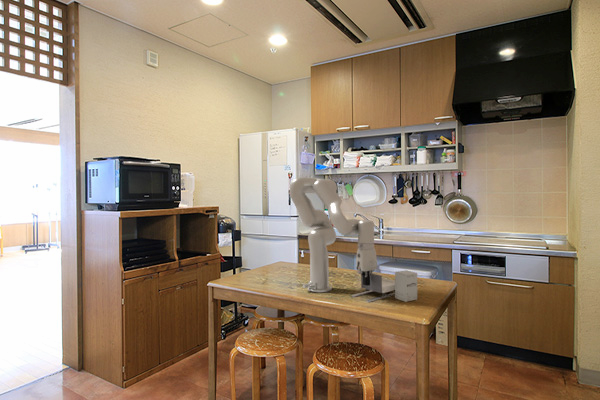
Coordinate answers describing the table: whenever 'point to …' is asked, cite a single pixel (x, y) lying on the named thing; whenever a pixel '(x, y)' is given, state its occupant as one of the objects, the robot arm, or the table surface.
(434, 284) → the table surface
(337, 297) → the table surface
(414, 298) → the supplement box
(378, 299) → the rail track
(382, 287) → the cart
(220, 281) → the table surface
